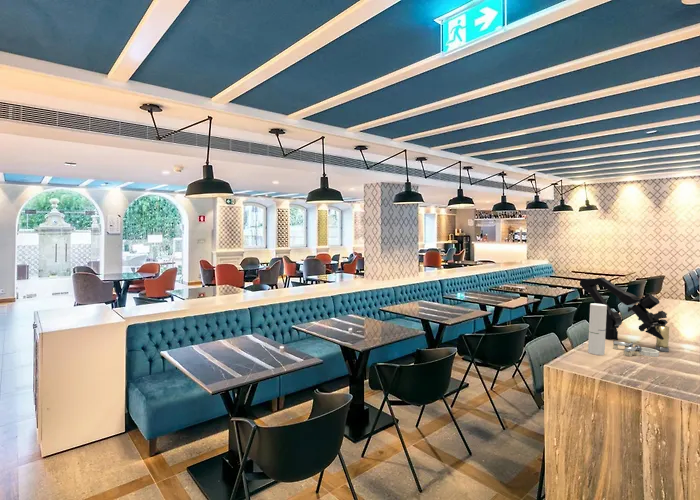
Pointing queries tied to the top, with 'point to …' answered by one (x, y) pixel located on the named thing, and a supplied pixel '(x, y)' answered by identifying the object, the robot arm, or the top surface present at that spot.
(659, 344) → the tan cylindrical piece
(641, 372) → the top surface
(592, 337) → the light grey tall block
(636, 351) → the shaft
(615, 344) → the shaft
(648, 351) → the socket ring
